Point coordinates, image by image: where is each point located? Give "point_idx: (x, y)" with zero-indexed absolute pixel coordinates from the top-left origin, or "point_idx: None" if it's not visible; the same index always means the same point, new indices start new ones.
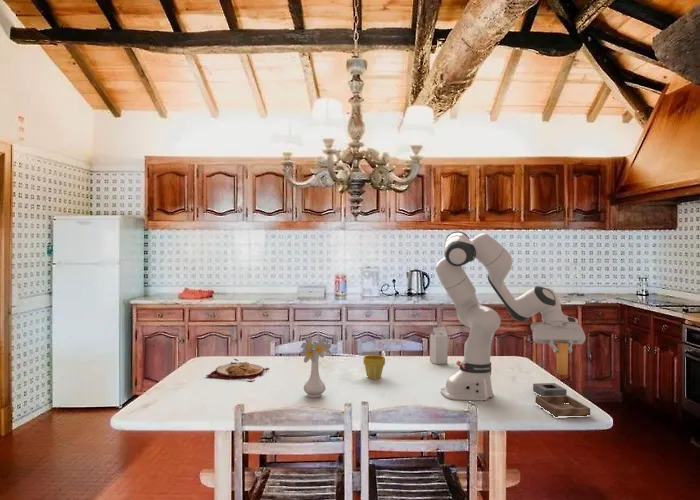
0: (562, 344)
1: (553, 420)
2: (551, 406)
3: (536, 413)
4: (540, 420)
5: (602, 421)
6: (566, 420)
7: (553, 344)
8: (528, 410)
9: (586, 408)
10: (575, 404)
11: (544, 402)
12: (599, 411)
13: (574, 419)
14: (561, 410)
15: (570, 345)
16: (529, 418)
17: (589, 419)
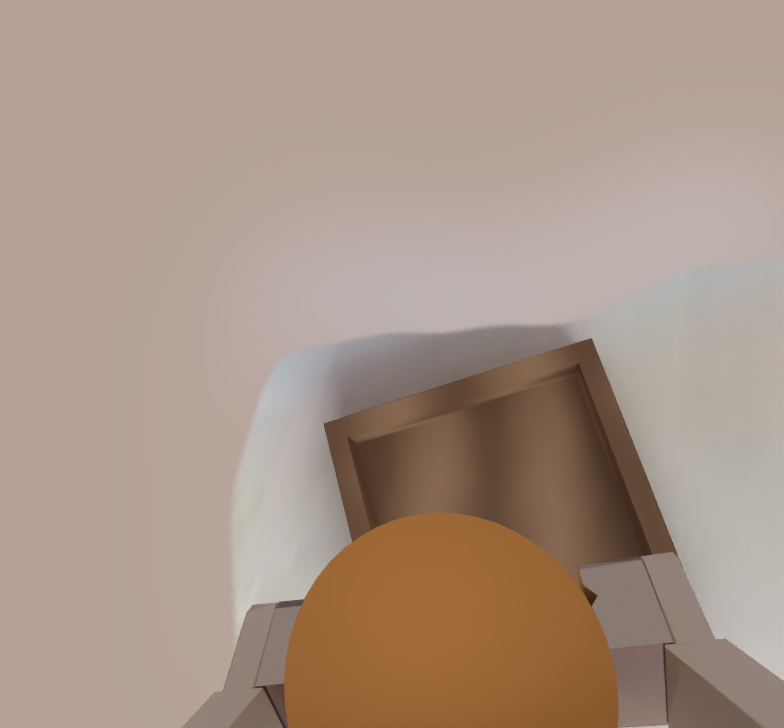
0: (485, 531)
1: (606, 318)
2: (616, 403)
3: (717, 441)
4: (700, 296)
5: (289, 374)
6: (516, 339)
7: (749, 698)
8: (779, 503)
9: (353, 414)
10: None
11: (660, 512)
12: (235, 583)
13: (457, 371)
14: (546, 354)
15: (223, 725)
16: (780, 318)
17: (358, 394)
